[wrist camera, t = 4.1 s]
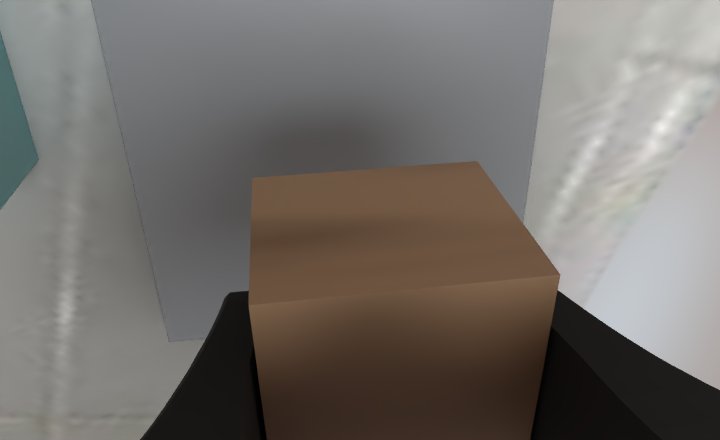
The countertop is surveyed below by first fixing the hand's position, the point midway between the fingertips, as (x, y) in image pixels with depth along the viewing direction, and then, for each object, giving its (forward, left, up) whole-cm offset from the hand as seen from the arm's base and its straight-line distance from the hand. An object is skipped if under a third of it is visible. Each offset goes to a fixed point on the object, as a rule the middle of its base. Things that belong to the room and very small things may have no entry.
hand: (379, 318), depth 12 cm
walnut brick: (0, 0, -2) cm, 2 cm away
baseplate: (0, 0, -8) cm, 8 cm away
